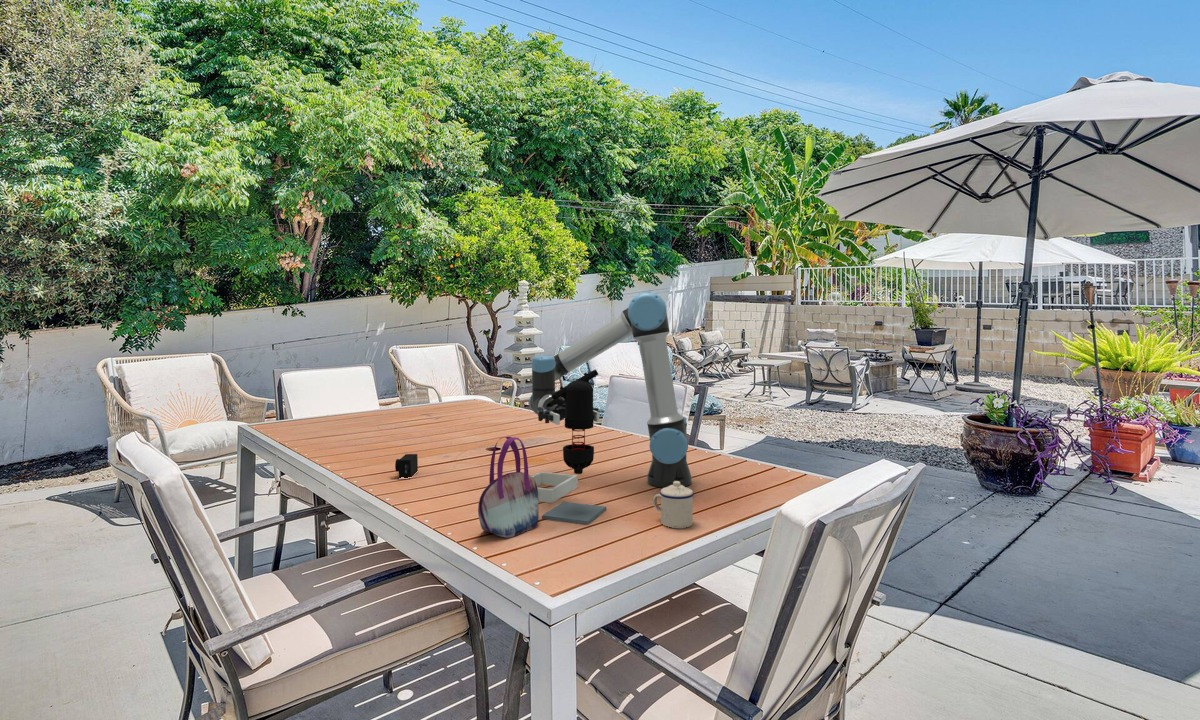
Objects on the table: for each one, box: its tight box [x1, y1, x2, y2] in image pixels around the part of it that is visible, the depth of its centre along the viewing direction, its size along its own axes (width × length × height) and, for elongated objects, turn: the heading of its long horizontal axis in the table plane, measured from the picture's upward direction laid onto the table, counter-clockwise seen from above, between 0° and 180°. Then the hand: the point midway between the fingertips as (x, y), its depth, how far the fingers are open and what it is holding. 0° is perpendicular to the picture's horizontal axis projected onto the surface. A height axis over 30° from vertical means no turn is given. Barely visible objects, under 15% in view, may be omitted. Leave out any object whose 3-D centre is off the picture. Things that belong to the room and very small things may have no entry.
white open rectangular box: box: [530, 471, 579, 504], centre depth 200 cm, size 14×19×4 cm
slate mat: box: [541, 501, 607, 526], centre depth 178 cm, size 14×14×1 cm
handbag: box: [477, 436, 540, 538], centre depth 165 cm, size 21×10×25 cm, turn 143°
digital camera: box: [394, 453, 419, 479], centre depth 223 cm, size 10×5×7 cm, turn 3°
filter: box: [551, 369, 599, 475], centre depth 176 cm, size 14×9×30 cm
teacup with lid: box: [652, 481, 694, 529], centre depth 170 cm, size 12×9×12 cm
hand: (578, 418), depth 172 cm, fingers closed on filter, 11 cm apart
